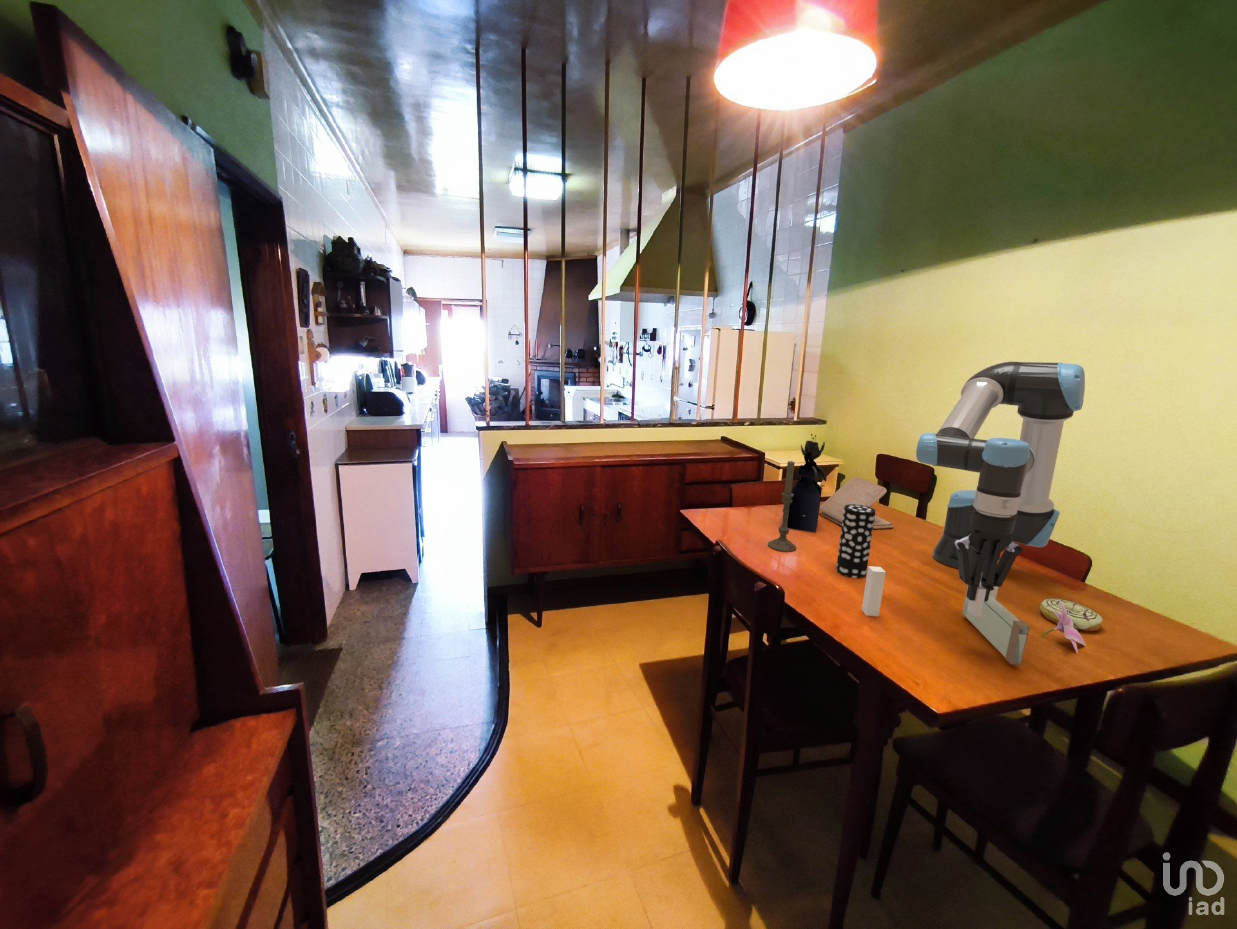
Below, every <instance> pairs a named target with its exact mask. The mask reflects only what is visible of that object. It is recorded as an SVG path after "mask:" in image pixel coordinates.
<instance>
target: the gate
mask: <svg viewBox="0 0 1237 929" xmlns="http://www.w3.org/2000/svg"><path fill="white" fill-rule="evenodd" d="M966 588H967V589H968V586H967V587H966ZM967 589H966V590H967ZM966 594H967V591H966ZM966 594H965V598H964V602H963V609H962V613H961V615H962V616H964V617H965V618H966V619H967V620H968V621H969V622H970V623H971V625H973V626H974V627H975V628H976V629H977V630H978V631H979V632H980V633H981V635H982V636H984V637H985V638H986V640H987V641H988V642H990V644H992V646H993V647H994V648H995V649H996V650H998V652H1000V654H1002V656H1004V659H1005V660H1006V661H1007V663H1009V664H1010V665H1015V666H1022V662H1023V657H1024V653H1025V649H1026V645H1027V640H1028V636H1029V632H1030V628H1031V627H1030V625H1029V624H1027V623H1026V621H1023V620H1022V621H1021V620H1020V619H1019V618H1017V616H1016V615H1014V614H1013V613H1012V612H1011V611H1010V610H1009V609H1007V607H1005V606H1004V605H1003V604H1001V602H999V601H998V600H995V599H994V598H993V597H992V596H991V595H990V594H989V599H988V601H987V602H985V601H984V604H983V609H982V614H981V617H978V616H973V615H972V614H971V613H970V612H969V611H968V610H967V609H968V604H969V599H968V598H967V596H966Z"/></svg>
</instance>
